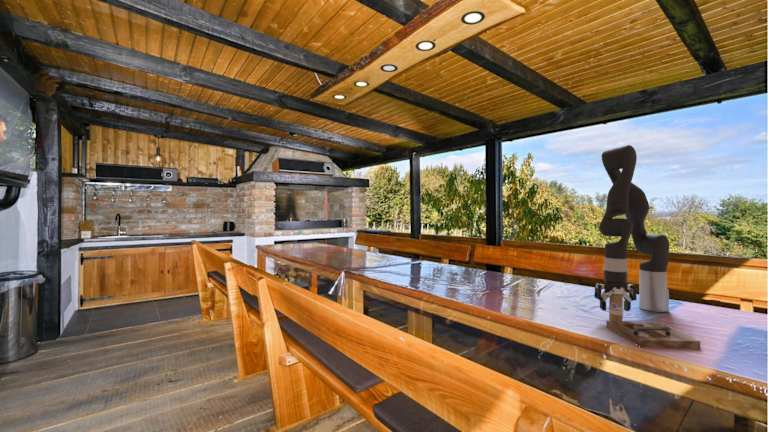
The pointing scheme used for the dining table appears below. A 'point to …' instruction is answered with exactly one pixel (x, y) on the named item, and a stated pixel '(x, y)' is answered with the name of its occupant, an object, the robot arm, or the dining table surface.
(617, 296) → the sprinkles bottle
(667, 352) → the dining table surface
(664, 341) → the flat wooden frame
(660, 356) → the dining table surface
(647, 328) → the hook rod
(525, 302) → the dining table surface
